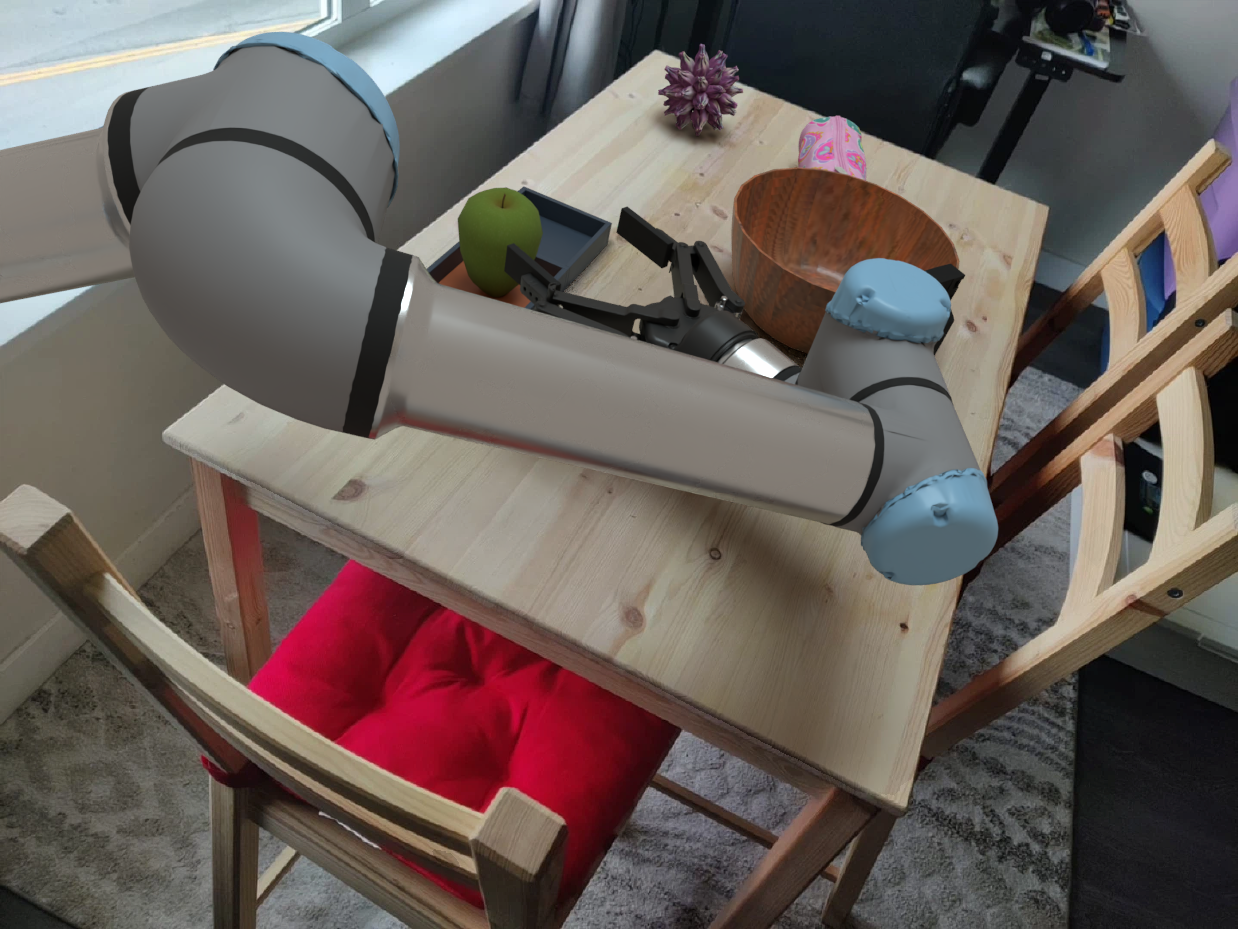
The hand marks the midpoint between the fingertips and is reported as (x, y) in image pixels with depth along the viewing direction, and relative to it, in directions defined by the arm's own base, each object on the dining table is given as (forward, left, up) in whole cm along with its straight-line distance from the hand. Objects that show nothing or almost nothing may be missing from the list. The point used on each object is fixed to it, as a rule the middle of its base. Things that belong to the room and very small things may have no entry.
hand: (567, 237), depth 84 cm
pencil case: (+47, +19, -13) cm, 53 cm away
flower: (+38, +41, -13) cm, 58 cm away
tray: (+1, +13, -13) cm, 18 cm away
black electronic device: (+22, -21, -13) cm, 33 cm away
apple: (-3, +9, -13) cm, 16 cm away
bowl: (+32, -1, -13) cm, 35 cm away
